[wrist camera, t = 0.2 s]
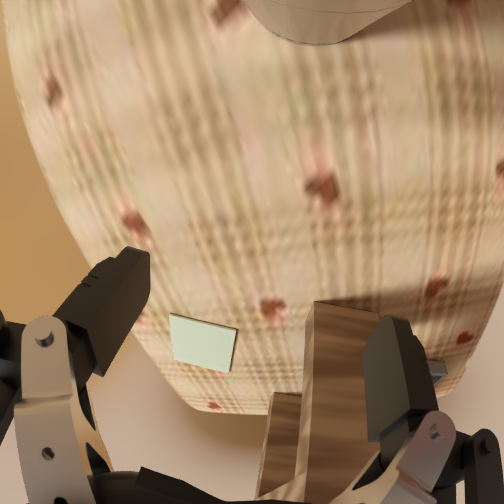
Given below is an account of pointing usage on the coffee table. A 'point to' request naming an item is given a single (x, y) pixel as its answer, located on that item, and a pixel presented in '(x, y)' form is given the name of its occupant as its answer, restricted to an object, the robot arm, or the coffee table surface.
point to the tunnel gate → (321, 413)
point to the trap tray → (437, 371)
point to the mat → (201, 343)
